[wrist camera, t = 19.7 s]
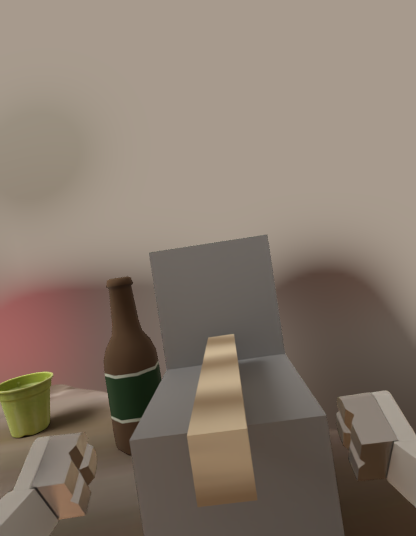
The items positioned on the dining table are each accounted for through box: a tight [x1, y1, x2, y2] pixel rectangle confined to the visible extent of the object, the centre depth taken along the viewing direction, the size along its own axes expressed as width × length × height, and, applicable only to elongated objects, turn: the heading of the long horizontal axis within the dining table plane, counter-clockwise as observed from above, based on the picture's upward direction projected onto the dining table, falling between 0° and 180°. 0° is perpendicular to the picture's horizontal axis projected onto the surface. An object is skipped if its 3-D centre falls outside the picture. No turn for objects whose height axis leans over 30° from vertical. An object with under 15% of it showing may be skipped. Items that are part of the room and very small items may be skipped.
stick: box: [187, 334, 257, 507], centre depth 24 cm, size 19×2×3 cm, turn 177°
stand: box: [129, 235, 344, 536], centre depth 32 cm, size 22×12×26 cm, turn 177°
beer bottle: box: [104, 277, 161, 455], centre depth 50 cm, size 8×8×24 cm
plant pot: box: [0, 372, 53, 438], centre depth 61 cm, size 9×9×9 cm
